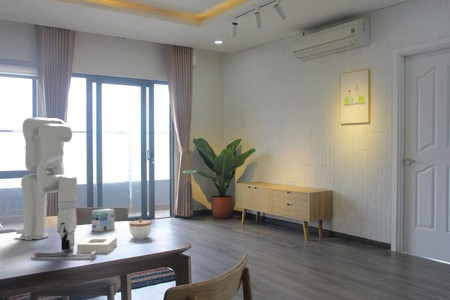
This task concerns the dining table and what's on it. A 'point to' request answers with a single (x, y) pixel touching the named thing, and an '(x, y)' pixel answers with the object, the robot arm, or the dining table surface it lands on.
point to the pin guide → (69, 257)
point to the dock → (96, 245)
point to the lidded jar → (140, 228)
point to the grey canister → (69, 243)
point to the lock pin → (49, 254)
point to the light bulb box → (103, 219)
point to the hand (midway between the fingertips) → (67, 247)
